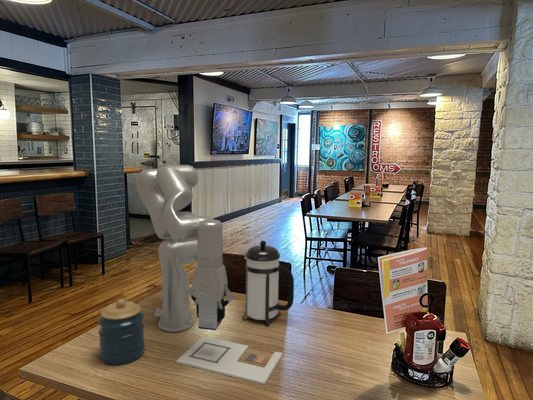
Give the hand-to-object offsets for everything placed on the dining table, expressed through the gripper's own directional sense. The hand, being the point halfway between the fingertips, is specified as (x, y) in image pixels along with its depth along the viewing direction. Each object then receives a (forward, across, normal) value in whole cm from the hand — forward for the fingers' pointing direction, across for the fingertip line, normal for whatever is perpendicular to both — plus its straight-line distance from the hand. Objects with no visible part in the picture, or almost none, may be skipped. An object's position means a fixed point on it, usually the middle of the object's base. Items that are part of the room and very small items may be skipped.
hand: (210, 317), depth 114 cm
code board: (+12, +7, 0) cm, 14 cm away
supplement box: (+3, 0, 0) cm, 3 cm away
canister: (+12, -25, -10) cm, 30 cm away
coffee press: (+12, +7, +30) cm, 33 cm away
